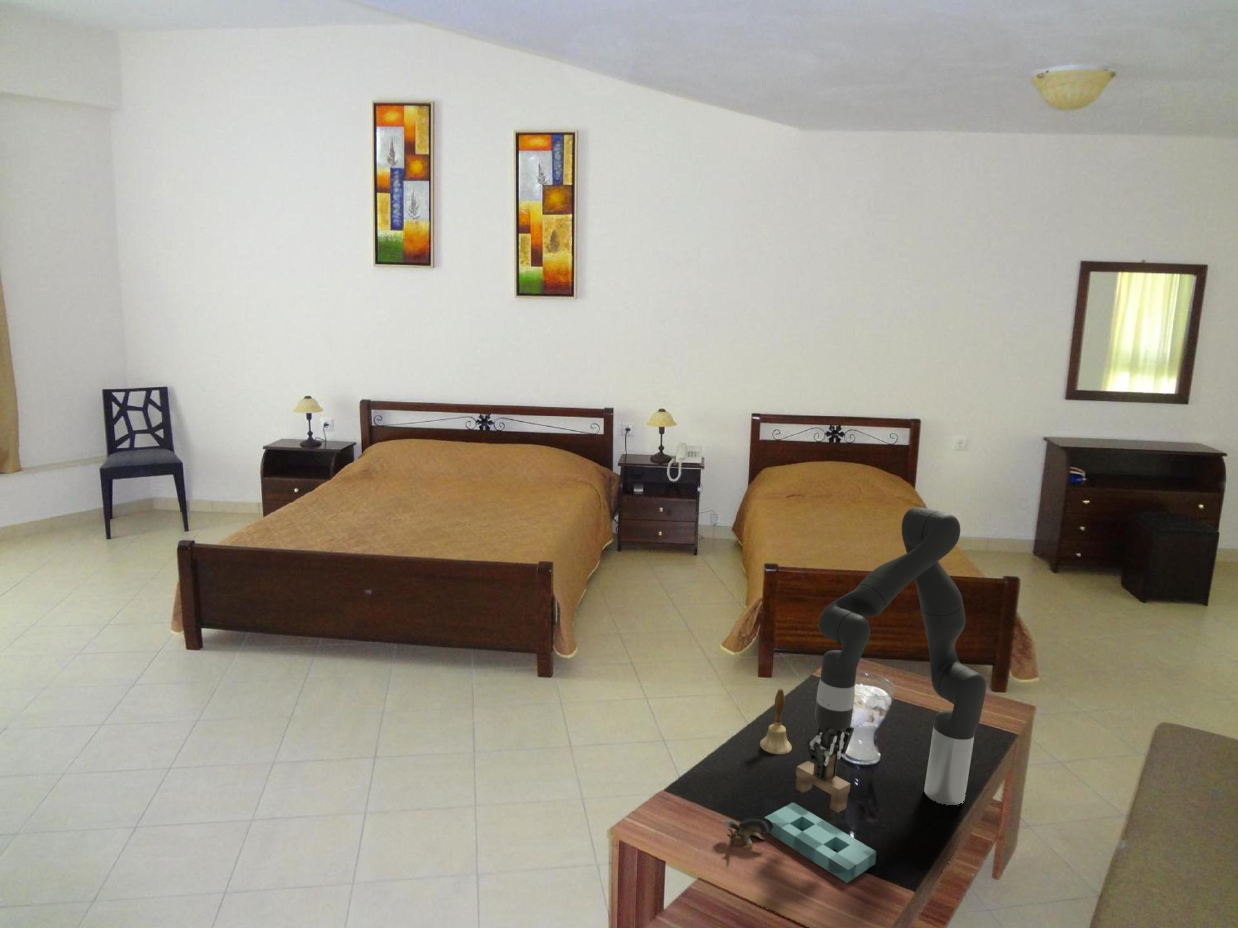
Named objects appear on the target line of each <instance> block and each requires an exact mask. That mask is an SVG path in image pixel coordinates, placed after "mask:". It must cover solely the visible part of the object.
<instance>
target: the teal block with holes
mask: <svg viewBox="0 0 1238 928" xmlns="http://www.w3.org/2000/svg"><path fill="white" fill-rule="evenodd" d="M764 818H767V819H769V821H771V823H773V826H774V828H773V830H771V832H769V833H768V834H770V835H771V836H773V837H774V838H776V839H778V840H779V841H781V842H782V843H783V844H785V845H787V846H788V847H790V848H791V849H793V850H795V851H796V852H797V853H800V854H801V855H802V856H804V857H806V858H807V859H808V860H810V861H811V862H813V863H815V864H816V865H818V866H819V867H821V868H823V869H824V870H826V871H827V872H829V873H830V874H832V875H834V876H836V878H838V879H839V880H841V881H843V882H844V883H846V884H847V883H849V882H851V881H852V880H854V879H855V878H857V877H858V876H859V875H861V874H863V873H864V872H866V871H867V870H869V869H871V867H873V866H875V865H876V859H877V858H876V857H877V851H876V850H874V849H873V848H871V847H869V846H867V845H866V844H864V843H863V842H861V841H859V840H857V839H856V838H854V837H852V836H850V835H849V834H847V833H846V832H844V831H842V830H841V829H840V828H838V827H836V826H834V825H833V824H830V823H829V822H827V821H825V820H824V819H822V818H820V816H817V815H816V814H814V813H812V812H811V811H809V810H807V809H805V808H804V807H802V806H801V805H798V804H797V803H795V802H793V801H792V802H791V803H788V805H785V806H783V807H781V808H779V809H777V810H776V811H774V812H772V813H770V814H768V815H766V816H764ZM834 850H836V851H834Z"/></svg>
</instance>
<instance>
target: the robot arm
mask: <svg viewBox="0 0 1238 928" xmlns="http://www.w3.org/2000/svg"><path fill="white" fill-rule="evenodd" d="M903 515H904V516H903V518H902V521H901V528H900V529H901V537H902V541H903V546H904V549H905V551H906V553H904V554H902V555H901V556H899V557H896V558H894V559H892V560H890V561H887V562H884V563H882V564H881V565H879V566H878V567H876V568H875V569H873V570H872V571H870V572H869V574H868V575H867V576H866V577H864V579H863V580H862V581H861V582H860V583H859V584H858V586H856V587H855V589H853V590H852V591H849V592H848V593H846V594H844V595H842V596H841V597H839V598H838V599H835V600H834V601H833V602H831V603H830V604H828V605H827V606H826V607H825V608H824V609H823V611H822V612H821V613H820V616H819V618H818V621H817V622H818V623H817V627H818V631H819V632H820V634H821V635H822V636H823V637H825V638H826V639H829V640H831V641H833V642H836V643H838V644H840V645H841V647H842V649H841V650H839V649H832V650H828V651H826V652H825V653H824V654H823V657H822V663H821V671H820V678H819V682H818V686H817V692H816V700H815V702H816V703H815V709H814V719H815V722H816V723H817V725H818V727H817V730H816V733H815V736H814V738H813V739H811V738H808V739H807V741H806V746H807V750H808V755H809V761H810V762H811V761H812V763H817V766H816V777H817V778H818V779H820V780H822V781H824V780H826V776H827V768H828V765H827V764H828V761H829V756H830V755H832V753H834V754H836V758H835V765H834V773H833V776H834V775H835V776H837V770H838V764H839V760H841V757H842V755H845V754H846V752H847V750H848V747H849V744H850V742H851V739H852V736H853V734H854V731H855V728H854V727H853V726H851V725H852V720H853V712H854V711H853V710H854V704H855V703H854V702H855V693H856V689H855V688H856V685H855V684H856V679H857V670H858V666H859V663H860V660H861V657H862V655H863V653H864V650H865V649H866V646H867V644H868V642H869V640H870V637H871V626H870V623H869V620H868V618H866V617H869V618H876V617H877V616H879V615H881V613H883V611H884V610H885V609H886V608H887V607H888V605H890V604H891V603H892V601H894V599H895V598H896V597H897V596H898V595H899V593H901V592H902V591H903V590H904V589H905V588H906V587H907V586H909V584H910V583H912V581H915V586H916V591H917V595H918V600H919V605H920V606H919V607H920V612H921V616H922V620H923V621H922V622H923V625H924V629H925V635H926V640H927V641H926V642H927V647H928V651H929V652H928V653H929V666H930V668H929V669H930V679H931V684H932V688H933V690H934V692H935V693H936V694H937V696H939V697H940V698H943V699H944V700H945V701H947V702H949V703H951V704H953V707H952V710H944V711H939V712H938V713H935V716H934V721H933V727H932V734H931V741H930V749H929V755H928V756H929V757H928V761H927V768H926V776H925V781H924V783H925V784H924V789H923V791H924V793H925V795H926V796H927V798H929V800H932V801H933V802H935V801H936V802H935V803H937V804H940V803H941V804H940V805H943V804H946V805H945V806H948V805H957V806H959V805H958V804H960V803H962V804H963V803H964V802H965V799H966V794H967V793H966V792H967V786H968V780H969V773H970V767H971V760H972V754H973V747H974V741H975V733H976V730H977V727H978V725H979V723H980V721H981V717H982V712H983V708H984V707H983V706H984V703H985V698H986V694H987V682H986V679H985V677H984V676H983V675H982V674H981V673H979V672H977V671H976V670H973V669H972V668H970V667H968V666H966V665H965V664H962V663H961V662H960V660H959V658H958V656H957V652H956V651H957V650H956V641H957V640H958V638H959V637H960V635H961V634H962V632H963V630H964V629H965V626H966V620H967V619H966V613H965V607H964V600H963V597H962V593H961V592H960V590H959V588H958V586H957V585H956V583H955V582H954V581H953V579H952V577H950V575H949V574H948V573H947V571H946V570H945V569H944V567H943V566H942V564H941V563H940V560H942V559H943V558H945V556H947V555H948V554H949V553H950V552H951V551H952V550H953V549H954V548H955V547H956V545H957V544H958V542H959V540H960V536H961V524H960V522H959V519H958V518H957V517H956V516H955V515H953V514H951V513H947V512H945V511H939V510H935V509H930V508H926V507H919V506H918V507H916V506H915V507H911V508H910V509H908V510H907V511H906V512H905V513H904V514H903ZM822 753H823V754H824V755H825V756H824V758H823V757H822ZM965 793H966V794H965ZM963 801H964V802H963Z"/></svg>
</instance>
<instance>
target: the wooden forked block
mask: <svg viewBox="0 0 1238 928" xmlns="http://www.w3.org/2000/svg"><path fill="white" fill-rule="evenodd" d="M824 756H825V755H824V754H823V753H822V757H823V758H824ZM835 758H836V754H834V753H832V755H830V756H829V761H828V764H827V765H828V768H827V776H826V780H824V781H822V780H820V779H818V778H817V777H816V766H817V763H815V762H811V761H810V760H807V761H805V762H803V763H800V764H799V765H796V770H795V771H796V772H795V776H796V781H795V789H796V790H797V791H799V793H800V792H801V793H802V794H804V793H806V792H807V791H810V790H811V789H813V786H815V787H817V788H818V789H820V790H821V791H824V792H825V793H828V794H829V795H830V803H829V809H830V810H831V811H833V812H835V813H837V814H839V813H840V812H842V811H844V810H845V809H847V806H848V805H847V804H848V797H849V796H848V795H849V793H850V792H851V791H850V790H851V783H850V782H848V781H846V780H845V779H843V778H841V777H839V776H837V775H834V776H833V773H834V765H835Z"/></svg>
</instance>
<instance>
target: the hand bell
mask: <svg viewBox="0 0 1238 928" xmlns="http://www.w3.org/2000/svg"><path fill="white" fill-rule="evenodd" d="M785 697H786V696H785V693H784V689H783V688H778V690H777V693H776V695H775V697H774V708H775V714H774V715H775V716H774V723H772V724H770V725H768V729H767V733H766V735H765V737H764V738H762V739H761V740H760V742H759V746H760V748H761V749H762V750H763V751H765V752H766V753H769V754H773V755H785V754H789V753H790V752H791V751H792V749H793V747H792V744H791V743H790V742H789V741H788V738H787V737H788V736H787V729H786V727H785V725H782V714H783V711H784V708H785V703H786V698H785Z"/></svg>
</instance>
